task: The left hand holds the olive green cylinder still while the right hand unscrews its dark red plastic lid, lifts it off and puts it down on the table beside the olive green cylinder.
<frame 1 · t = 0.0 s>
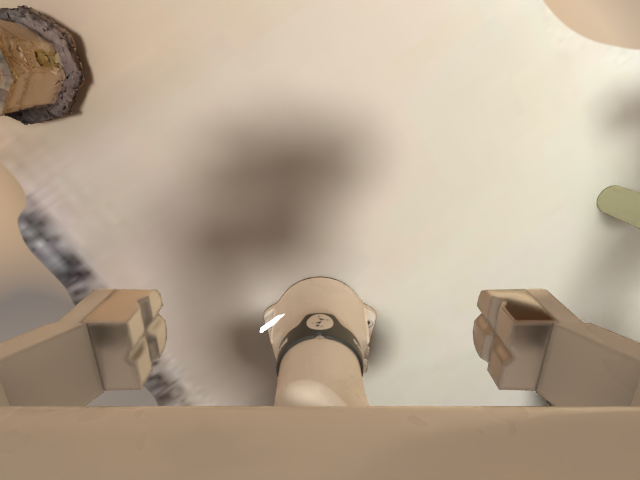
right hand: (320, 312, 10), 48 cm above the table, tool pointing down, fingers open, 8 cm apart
olive green cylinder: (611, 199, 59), on the table
miniature building: (44, 68, 52), on the table
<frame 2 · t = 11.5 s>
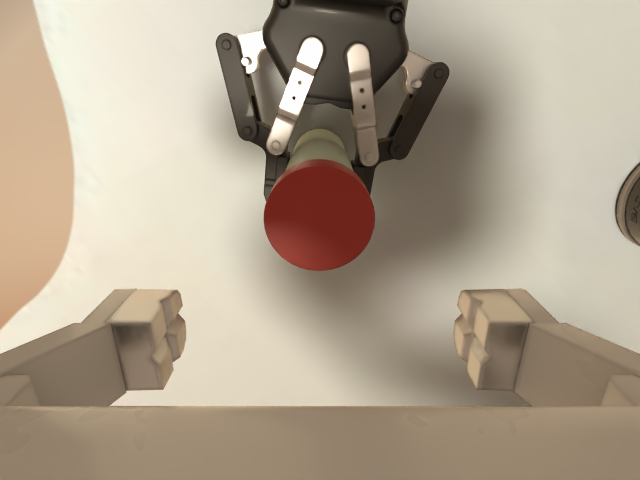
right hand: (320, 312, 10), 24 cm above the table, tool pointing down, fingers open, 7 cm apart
left hand: (315, 211, 27), fingers closed on olive green cylinder, 4 cm apart
lid: (319, 218, 17), point 16 cm above the table, screwed on, not yet turned
olive green cylinder: (319, 154, 32), on the table, touching left hand
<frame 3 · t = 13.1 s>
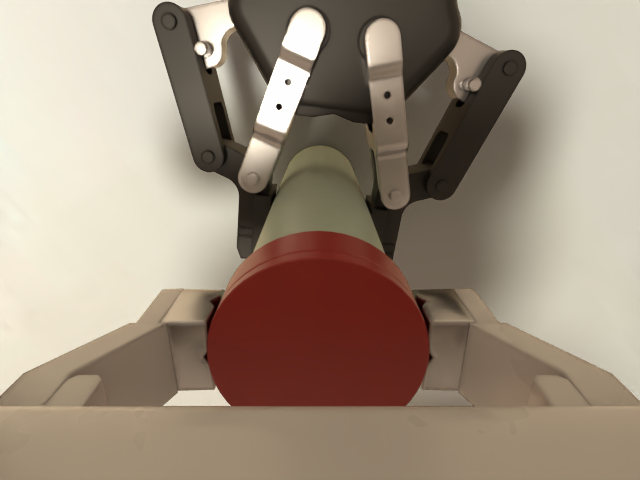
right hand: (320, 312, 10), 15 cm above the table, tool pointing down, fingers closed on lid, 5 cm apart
left hand: (313, 269, 18), fingers closed on olive green cylinder, 4 cm apart
lid: (318, 348, 9), point 16 cm above the table, screwed on, not yet turned, touching right hand
olive green cylinder: (319, 180, 24), on the table, touching left hand
when the right hand's fingers open (15 cm above the table, at t = 14.3 s): lid stays where it is, point 16 cm above the table.
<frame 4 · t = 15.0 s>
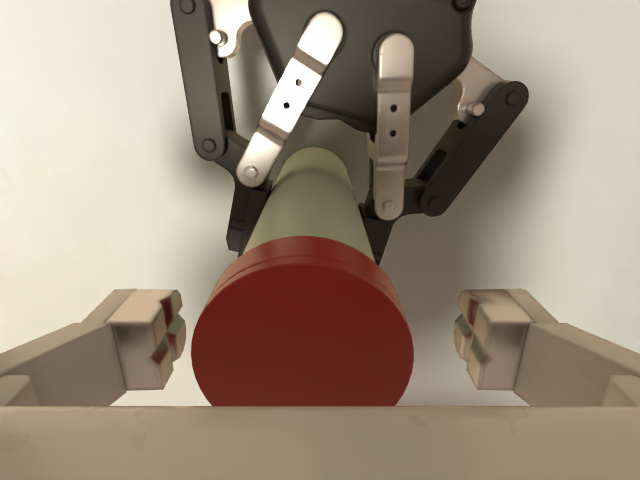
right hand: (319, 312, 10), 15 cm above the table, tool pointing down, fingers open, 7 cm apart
left hand: (298, 269, 19), fingers closed on olive green cylinder, 4 cm apart
lid: (303, 353, 9), point 16 cm above the table, turned 61° so far, risen 0.1 cm, still on its thread
olive green cylinder: (314, 181, 24), on the table, touching left hand
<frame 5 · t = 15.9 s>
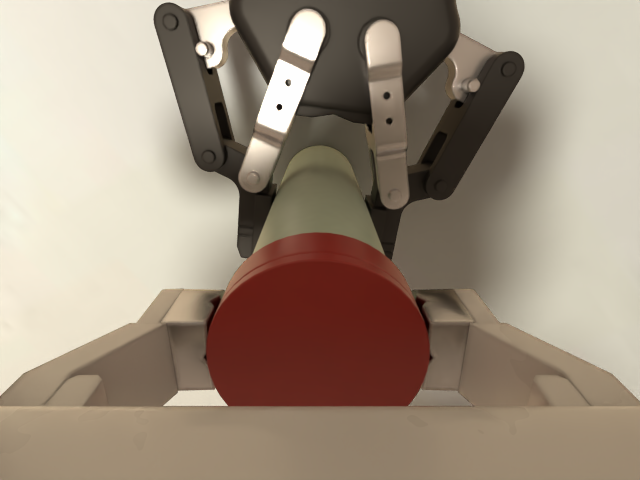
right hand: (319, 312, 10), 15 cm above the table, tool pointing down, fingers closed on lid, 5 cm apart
left hand: (312, 268, 19), fingers closed on olive green cylinder, 4 cm apart
lid: (318, 350, 9), point 16 cm above the table, turned 61° so far, risen 0.1 cm, still on its thread, touching right hand
olive green cylinder: (319, 180, 24), on the table, touching left hand
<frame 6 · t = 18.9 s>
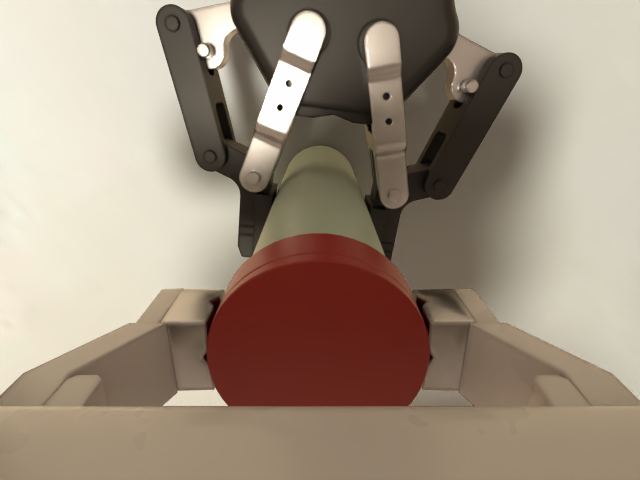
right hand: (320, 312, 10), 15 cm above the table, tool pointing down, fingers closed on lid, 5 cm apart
left hand: (313, 267, 19), fingers closed on olive green cylinder, 4 cm apart
lid: (318, 351, 9), point 17 cm above the table, turned 123° so far, risen 0.3 cm, still on its thread, touching right hand
olive green cylinder: (319, 180, 24), on the table, touching left hand
when the right hand's fingers open (2 cm above the table, at t = 25.4 s): lid drops 2 cm, point 1 cm above the table.
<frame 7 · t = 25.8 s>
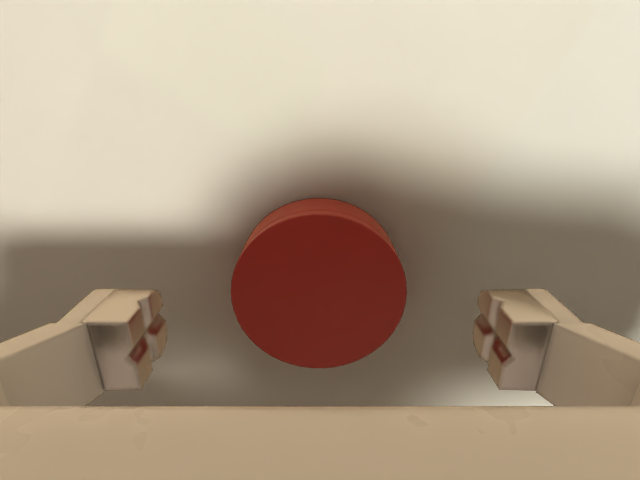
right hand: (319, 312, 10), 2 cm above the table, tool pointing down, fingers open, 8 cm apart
lid: (318, 291, 11), point 1 cm above the table, off its thread
when the left hand's fingers open (7 cm above the table, at t = 26.4 s): olive green cylinder stays where it is, on the table.
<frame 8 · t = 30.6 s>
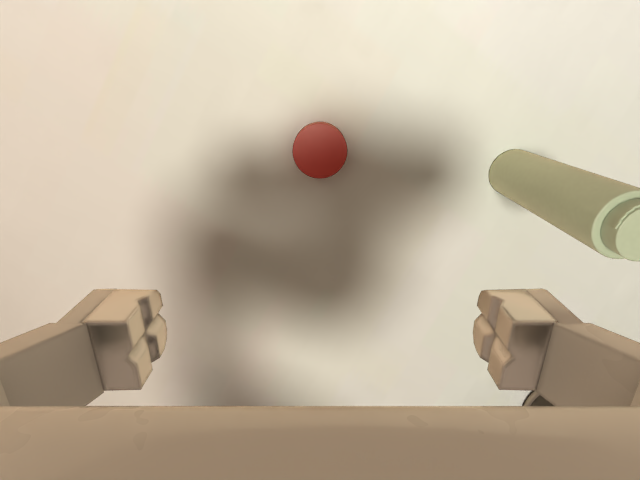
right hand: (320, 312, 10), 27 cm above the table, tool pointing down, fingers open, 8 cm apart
lid: (319, 150, 34), point 1 cm above the table, off its thread
olive green cylinder: (511, 172, 36), on the table
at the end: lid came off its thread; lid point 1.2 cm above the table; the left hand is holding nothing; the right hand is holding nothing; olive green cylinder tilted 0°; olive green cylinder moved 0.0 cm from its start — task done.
